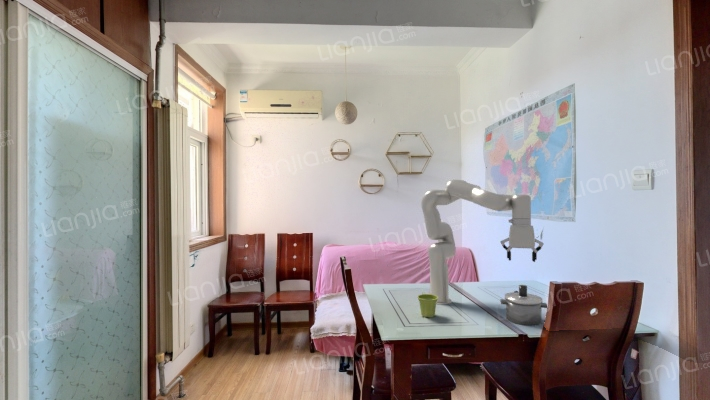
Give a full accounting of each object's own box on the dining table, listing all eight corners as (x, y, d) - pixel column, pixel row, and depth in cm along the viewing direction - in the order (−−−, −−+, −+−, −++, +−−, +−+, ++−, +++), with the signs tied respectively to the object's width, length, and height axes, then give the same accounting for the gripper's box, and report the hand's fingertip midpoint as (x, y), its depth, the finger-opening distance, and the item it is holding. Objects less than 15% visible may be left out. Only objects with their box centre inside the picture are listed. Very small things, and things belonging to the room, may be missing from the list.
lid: (506, 302, 142) (506, 288, 142) (503, 293, 156) (503, 280, 156) (545, 306, 137) (545, 291, 137) (539, 296, 151) (538, 283, 151)
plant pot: (426, 320, 147) (426, 300, 147) (413, 314, 156) (413, 295, 156) (442, 316, 151) (442, 297, 152) (429, 310, 160) (428, 293, 160)
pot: (502, 323, 143) (502, 302, 143) (499, 312, 156) (499, 293, 156) (550, 328, 137) (550, 306, 137) (543, 317, 150) (543, 297, 150)
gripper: (500, 222, 147) (501, 261, 146) (545, 223, 141) (545, 263, 141) (499, 221, 154) (499, 258, 154) (541, 222, 148) (541, 260, 148)
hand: (521, 260), depth 147 cm, fingers open, 9 cm apart
